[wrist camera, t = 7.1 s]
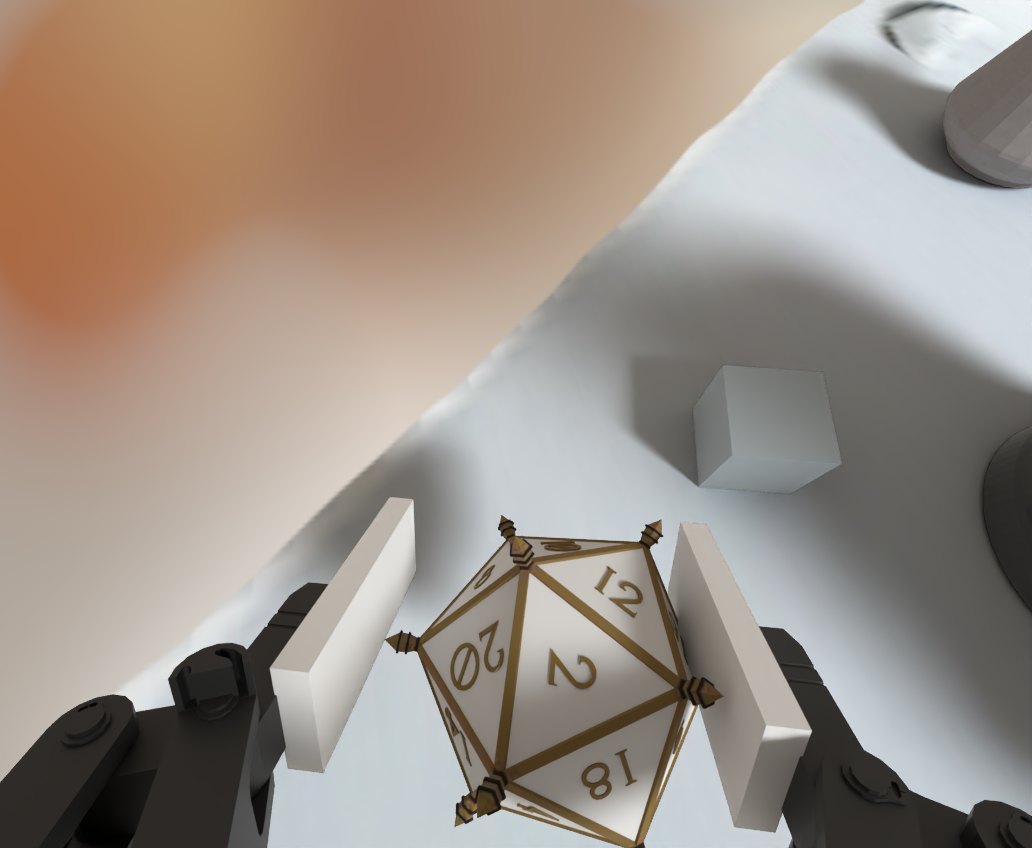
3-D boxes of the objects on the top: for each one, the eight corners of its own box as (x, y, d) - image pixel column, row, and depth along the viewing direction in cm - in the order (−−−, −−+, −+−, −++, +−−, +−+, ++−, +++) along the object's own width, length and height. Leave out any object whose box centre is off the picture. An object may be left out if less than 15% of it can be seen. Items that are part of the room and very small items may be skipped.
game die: (545, 711, 20) (384, 1009, 11) (469, 516, 20) (254, 640, 11) (777, 683, 16) (839, 1104, 7) (677, 444, 16) (610, 541, 7)
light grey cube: (776, 414, 29) (823, 371, 24) (788, 494, 27) (841, 463, 22) (692, 408, 29) (722, 364, 25) (697, 487, 27) (732, 455, 23)
